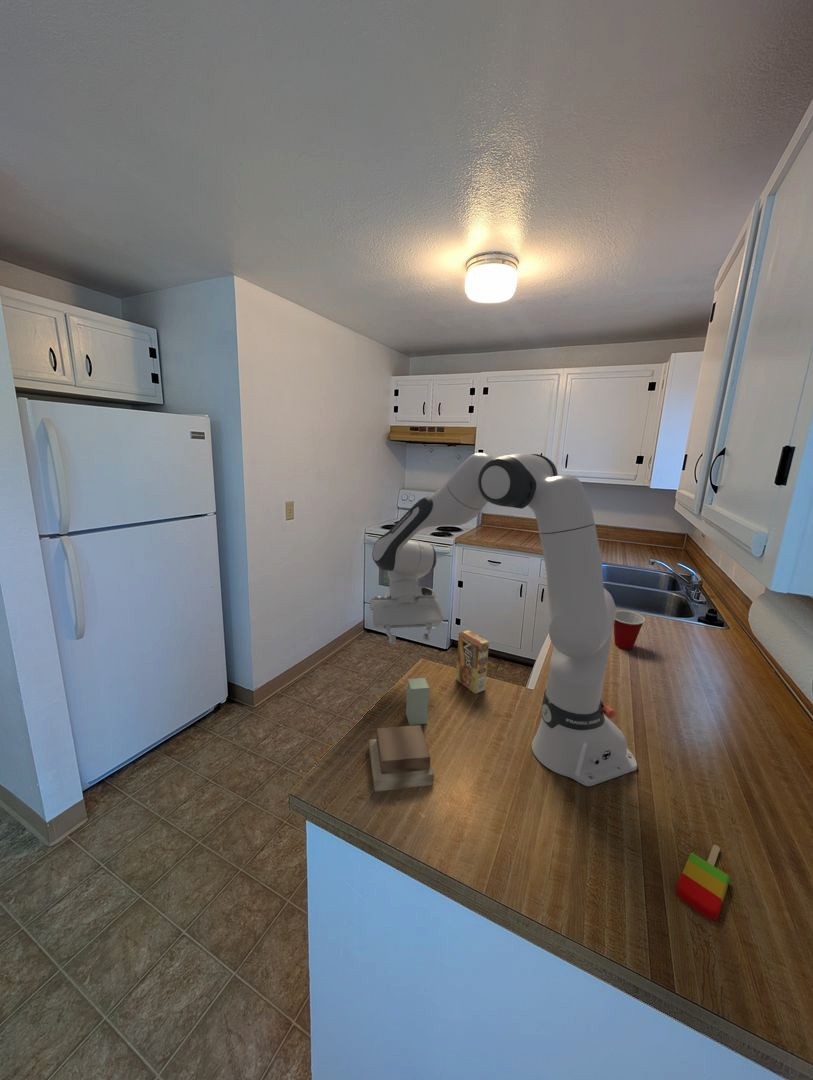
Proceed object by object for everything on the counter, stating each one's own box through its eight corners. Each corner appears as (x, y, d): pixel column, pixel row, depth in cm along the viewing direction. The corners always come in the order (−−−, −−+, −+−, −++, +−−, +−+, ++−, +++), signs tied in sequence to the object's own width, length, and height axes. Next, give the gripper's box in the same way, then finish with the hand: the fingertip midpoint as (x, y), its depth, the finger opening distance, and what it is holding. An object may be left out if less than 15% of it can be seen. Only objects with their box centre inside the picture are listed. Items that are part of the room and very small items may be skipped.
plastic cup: (600, 643, 150) (605, 613, 148) (617, 637, 156) (622, 608, 153) (629, 656, 141) (635, 624, 139) (646, 649, 147) (651, 618, 145)
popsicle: (672, 896, 64) (675, 887, 64) (697, 839, 74) (699, 830, 74) (715, 926, 60) (718, 917, 60) (735, 862, 70) (737, 853, 70)
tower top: (419, 736, 94) (420, 725, 93) (429, 769, 84) (430, 756, 83) (376, 740, 92) (376, 728, 91) (381, 774, 82) (381, 761, 82)
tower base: (420, 745, 95) (420, 734, 94) (433, 786, 83) (433, 774, 83) (368, 751, 93) (368, 739, 92) (374, 793, 81) (375, 781, 80)
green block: (422, 712, 106) (424, 677, 104) (426, 723, 102) (429, 687, 100) (405, 713, 105) (407, 678, 103) (409, 725, 101) (411, 689, 99)
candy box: (485, 690, 117) (490, 641, 114) (474, 694, 115) (479, 644, 112) (465, 675, 124) (469, 629, 121) (454, 679, 122) (458, 632, 119)
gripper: (370, 592, 114) (373, 639, 107) (440, 590, 118) (448, 636, 111) (368, 601, 120) (371, 647, 112) (435, 599, 124) (442, 643, 116)
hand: (410, 641), depth 112 cm, fingers open, 8 cm apart
